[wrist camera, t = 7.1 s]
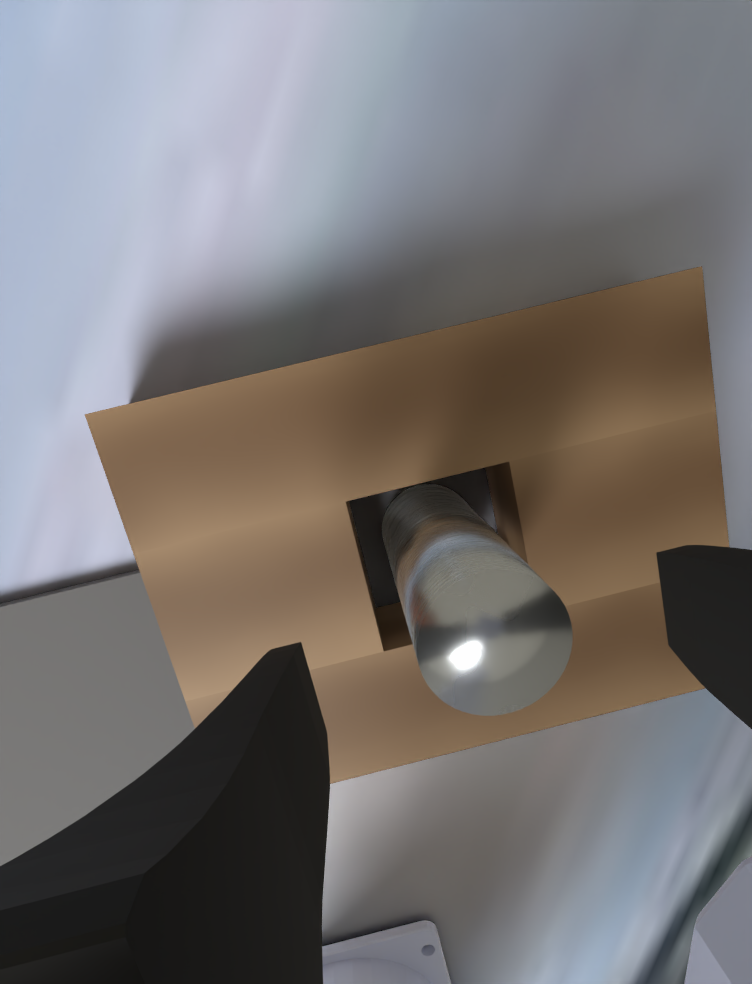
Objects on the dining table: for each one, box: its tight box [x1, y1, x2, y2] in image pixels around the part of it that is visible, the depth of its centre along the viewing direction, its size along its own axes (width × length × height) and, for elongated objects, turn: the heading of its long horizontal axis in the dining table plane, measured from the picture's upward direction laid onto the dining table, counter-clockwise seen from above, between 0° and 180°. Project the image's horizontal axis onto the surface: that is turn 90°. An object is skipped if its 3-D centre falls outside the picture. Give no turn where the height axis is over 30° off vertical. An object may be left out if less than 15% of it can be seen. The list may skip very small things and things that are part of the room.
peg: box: [382, 484, 573, 716], centre depth 15 cm, size 3×3×8 cm
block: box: [85, 266, 729, 784], centre depth 17 cm, size 12×16×3 cm
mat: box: [0, 570, 195, 866], centre depth 19 cm, size 10×10×1 cm
